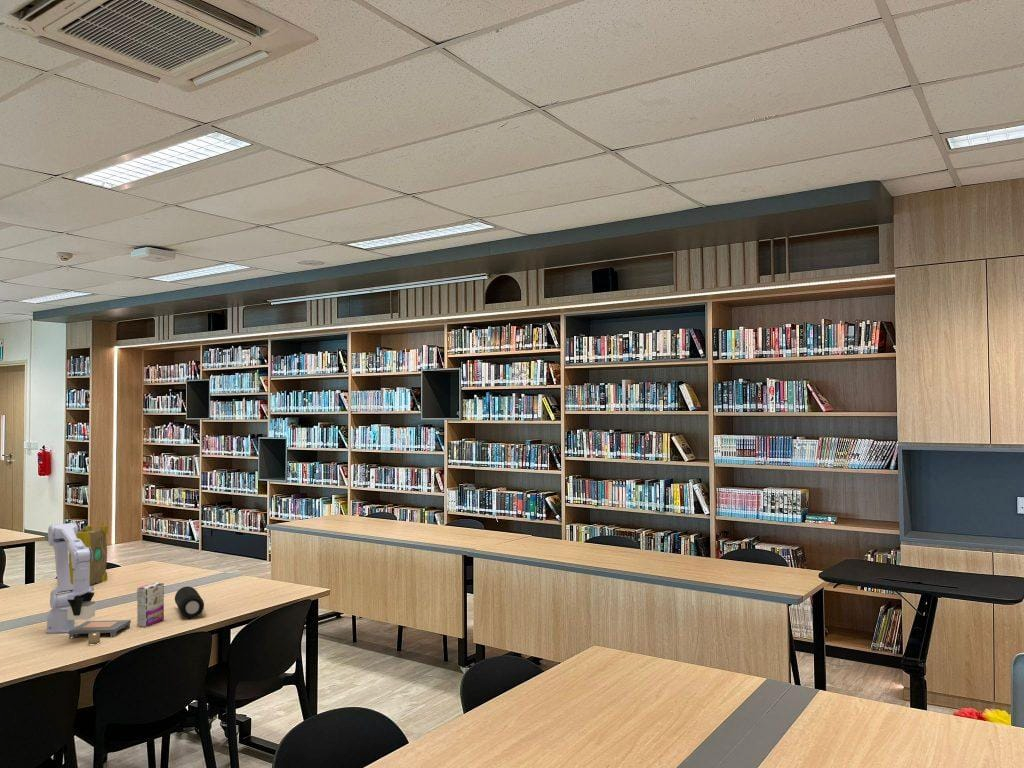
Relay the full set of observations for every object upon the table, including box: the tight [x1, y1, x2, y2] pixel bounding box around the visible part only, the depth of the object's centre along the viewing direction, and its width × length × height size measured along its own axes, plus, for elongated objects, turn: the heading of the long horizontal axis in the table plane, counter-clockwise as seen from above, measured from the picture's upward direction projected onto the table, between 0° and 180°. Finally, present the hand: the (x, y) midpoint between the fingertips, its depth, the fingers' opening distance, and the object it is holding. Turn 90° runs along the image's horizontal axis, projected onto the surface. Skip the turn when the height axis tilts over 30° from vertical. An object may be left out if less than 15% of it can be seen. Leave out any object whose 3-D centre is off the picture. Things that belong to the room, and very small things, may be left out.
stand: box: [68, 619, 132, 639], centre depth 301 cm, size 18×14×3 cm
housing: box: [68, 600, 96, 621], centre depth 292 cm, size 5×8×6 cm, turn 89°
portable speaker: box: [174, 585, 205, 619], centre depth 331 cm, size 26×10×10 cm, turn 30°
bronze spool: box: [87, 632, 101, 645], centre depth 287 cm, size 4×4×4 cm
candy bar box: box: [136, 581, 165, 628], centre depth 314 cm, size 11×5×16 cm, turn 168°
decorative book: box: [68, 525, 109, 586], centre depth 392 cm, size 20×11×30 cm, turn 0°
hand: (80, 613), depth 292 cm, fingers closed on housing, 5 cm apart
